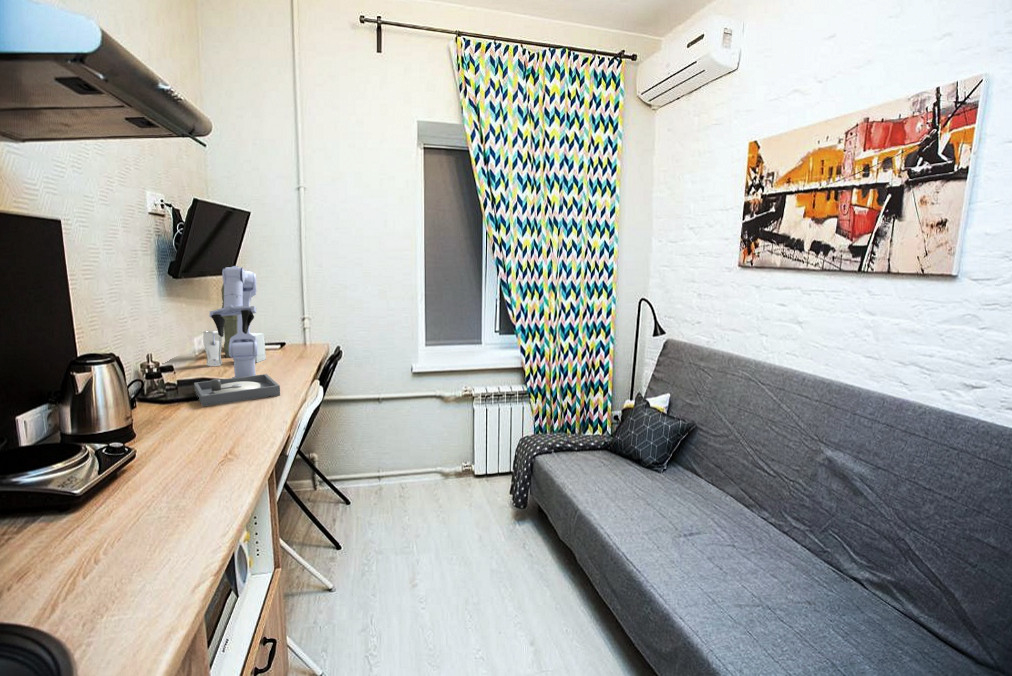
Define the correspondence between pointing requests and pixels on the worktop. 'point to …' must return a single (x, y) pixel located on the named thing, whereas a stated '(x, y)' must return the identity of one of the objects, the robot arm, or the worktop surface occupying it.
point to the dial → (232, 386)
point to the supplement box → (260, 347)
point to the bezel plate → (266, 389)
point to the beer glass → (213, 347)
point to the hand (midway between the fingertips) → (232, 334)
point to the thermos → (228, 327)
